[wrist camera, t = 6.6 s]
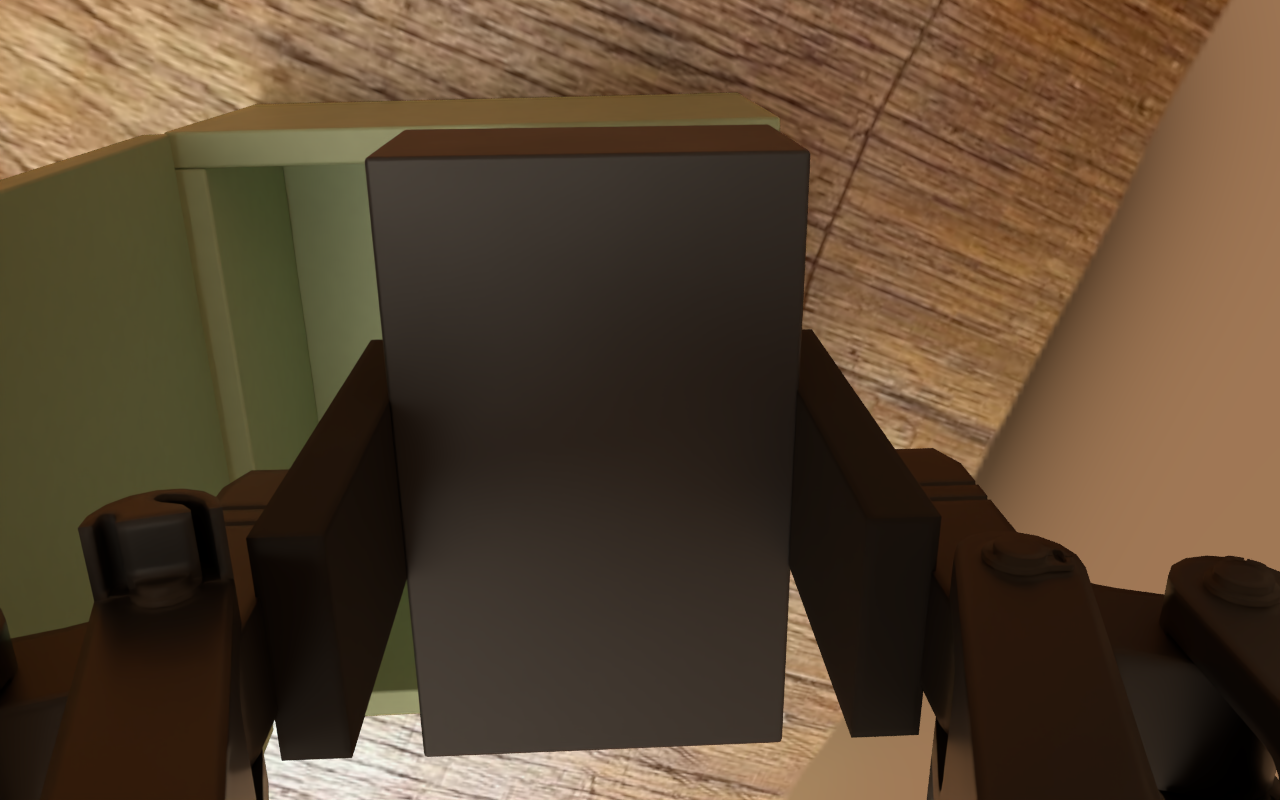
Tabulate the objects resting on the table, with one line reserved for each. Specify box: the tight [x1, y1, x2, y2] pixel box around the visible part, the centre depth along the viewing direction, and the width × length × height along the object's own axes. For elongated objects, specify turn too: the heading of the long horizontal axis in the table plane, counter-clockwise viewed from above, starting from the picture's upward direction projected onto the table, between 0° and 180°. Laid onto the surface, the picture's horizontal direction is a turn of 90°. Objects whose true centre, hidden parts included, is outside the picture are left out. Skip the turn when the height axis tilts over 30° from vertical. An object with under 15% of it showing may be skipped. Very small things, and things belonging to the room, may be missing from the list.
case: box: [164, 92, 780, 716], centre depth 29 cm, size 14×16×7 cm
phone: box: [365, 124, 810, 757], centre depth 16 cm, size 6×9×3 cm, turn 1°
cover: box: [0, 134, 273, 753], centre depth 19 cm, size 14×16×1 cm
